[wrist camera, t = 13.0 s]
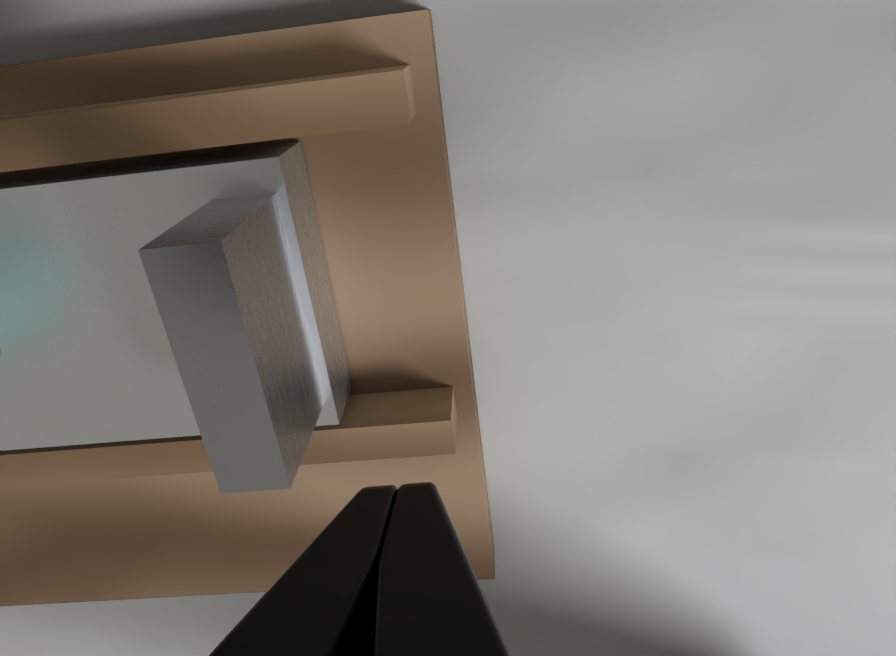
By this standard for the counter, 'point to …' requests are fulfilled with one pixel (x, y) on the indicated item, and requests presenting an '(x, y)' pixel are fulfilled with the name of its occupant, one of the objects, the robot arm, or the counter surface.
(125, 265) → the cover slide
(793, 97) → the counter surface
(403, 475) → the housing board
